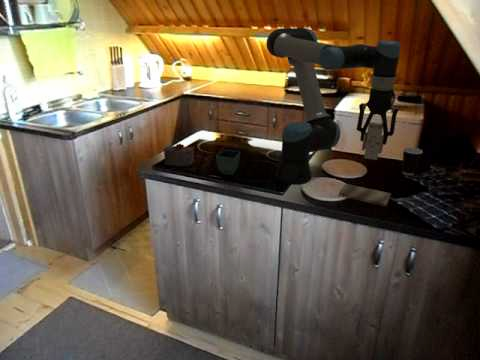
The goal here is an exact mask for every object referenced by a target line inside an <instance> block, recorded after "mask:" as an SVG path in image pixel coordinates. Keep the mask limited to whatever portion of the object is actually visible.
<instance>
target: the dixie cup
mask: <svg viewBox="0 0 480 360" xmlns="http://www.w3.org/2000/svg"><path fill="white" fill-rule="evenodd" d="M402 151H403V152H402V153H403V154H402V167H401V171H402V175H405V176H414V175H415V173H416V170H417V167H418V164H419V162H420V159H421V157H422V154H423V149H420V148H417V147H408V146H406V147H403V149H402Z"/></svg>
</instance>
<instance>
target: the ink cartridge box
mask: <svg viewBox="0 0 480 360" xmlns="http://www.w3.org/2000/svg"><path fill="white" fill-rule="evenodd" d="M367 132H368V133H367V140H366V147H365V150H364V156H363V159H368V160H374V161H375V160H378V159H379V147H380V142H381V136H382V135H383V120H382V119H381V122H373V121H370V123H369V125H368V127H367Z"/></svg>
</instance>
